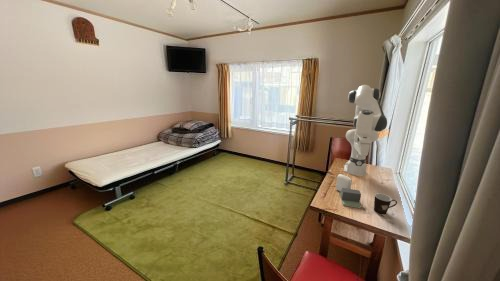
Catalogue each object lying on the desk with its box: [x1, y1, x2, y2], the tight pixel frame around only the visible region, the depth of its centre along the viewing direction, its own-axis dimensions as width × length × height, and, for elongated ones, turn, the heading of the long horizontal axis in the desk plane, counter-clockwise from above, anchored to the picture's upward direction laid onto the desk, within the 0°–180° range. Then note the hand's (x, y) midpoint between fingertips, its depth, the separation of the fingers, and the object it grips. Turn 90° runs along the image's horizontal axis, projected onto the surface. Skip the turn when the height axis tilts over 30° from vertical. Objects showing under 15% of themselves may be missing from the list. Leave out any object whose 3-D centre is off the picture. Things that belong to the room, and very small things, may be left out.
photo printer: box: [335, 174, 353, 193], centre depth 140 cm, size 10×4×12 cm, turn 29°
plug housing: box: [340, 188, 362, 204], centre depth 129 cm, size 5×11×6 cm, turn 74°
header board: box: [339, 192, 362, 209], centre depth 130 cm, size 14×10×5 cm
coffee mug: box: [373, 192, 398, 216], centre depth 117 cm, size 12×9×10 cm
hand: (358, 158), depth 126 cm, fingers closed
